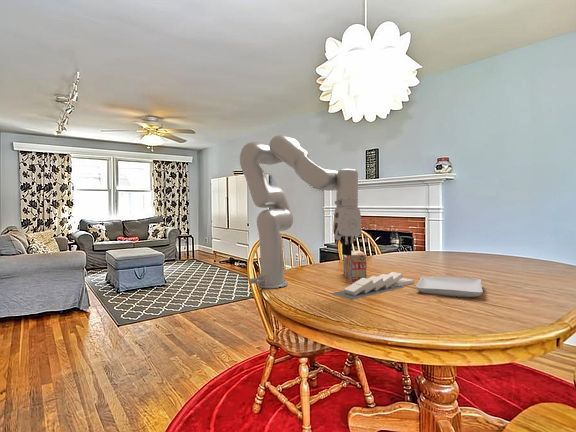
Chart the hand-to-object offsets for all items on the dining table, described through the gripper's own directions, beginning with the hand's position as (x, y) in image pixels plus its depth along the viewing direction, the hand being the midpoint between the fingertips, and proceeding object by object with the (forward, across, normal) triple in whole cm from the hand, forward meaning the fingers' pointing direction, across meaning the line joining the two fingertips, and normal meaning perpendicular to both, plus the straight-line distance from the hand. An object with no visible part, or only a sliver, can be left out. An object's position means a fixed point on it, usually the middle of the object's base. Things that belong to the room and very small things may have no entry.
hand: (346, 254), depth 124 cm
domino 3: (+13, +12, -1) cm, 18 cm away
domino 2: (+13, +6, -1) cm, 15 cm away
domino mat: (+14, +10, -1) cm, 18 cm away
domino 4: (+13, +17, -1) cm, 22 cm away
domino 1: (+13, 0, -1) cm, 14 cm away
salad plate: (+14, +33, -19) cm, 41 cm away
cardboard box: (+15, +22, +19) cm, 33 cm away
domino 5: (+13, +23, -2) cm, 26 cm away
